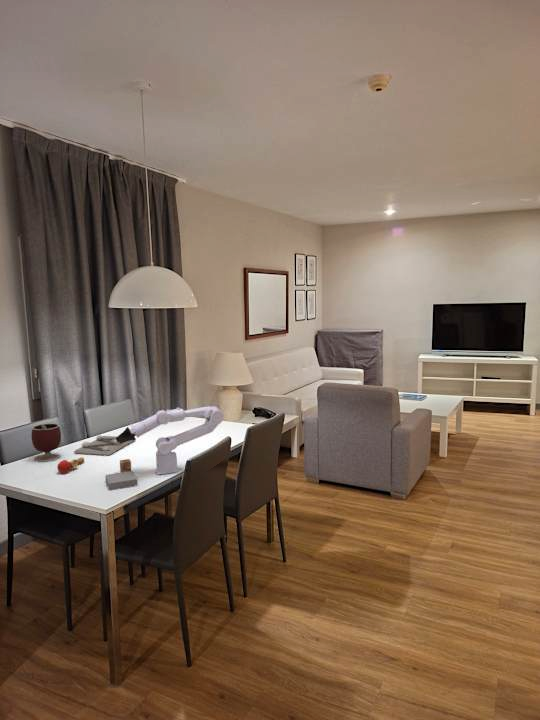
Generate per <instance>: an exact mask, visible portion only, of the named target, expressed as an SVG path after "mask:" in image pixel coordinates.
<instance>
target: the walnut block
mask: <svg viewBox="0 0 540 720" xmlns="http://www.w3.org/2000/svg"><path fill="white" fill-rule="evenodd" d="M128 471H132V461H131V459H130V458H126V459H120V460H119V473H121V472H128Z"/></svg>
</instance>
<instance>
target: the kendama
mask: <svg viewBox="0 0 540 720" xmlns="http://www.w3.org/2000/svg"><path fill="white" fill-rule="evenodd" d="M84 463H85V458H84V457H83V456H82V457H79V458H76V459H72V460H70V461H68V460H66V459H62V460H61V461H59V463H58V464H57V470H58V472H59V473H60V474H66V473H68V472H70V471H71V469H73V470H75V469H77V468H78V466H79V464H84Z"/></svg>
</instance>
